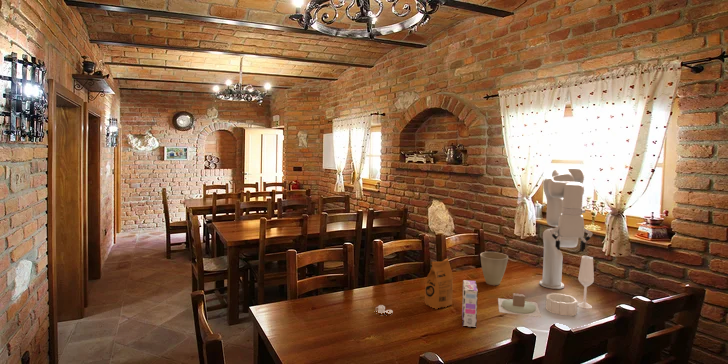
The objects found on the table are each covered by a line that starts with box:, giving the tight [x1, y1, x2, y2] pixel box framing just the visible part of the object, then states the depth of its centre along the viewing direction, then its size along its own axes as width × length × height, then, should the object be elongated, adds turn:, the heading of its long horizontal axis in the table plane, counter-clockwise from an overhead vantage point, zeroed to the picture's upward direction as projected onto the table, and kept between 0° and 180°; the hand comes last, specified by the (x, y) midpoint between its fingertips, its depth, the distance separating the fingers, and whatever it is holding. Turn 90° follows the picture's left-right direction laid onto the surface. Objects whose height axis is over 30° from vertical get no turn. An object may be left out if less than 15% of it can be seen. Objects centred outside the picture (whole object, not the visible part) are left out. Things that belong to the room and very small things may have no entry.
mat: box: [497, 297, 542, 318], centre depth 201 cm, size 18×18×1 cm
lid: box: [502, 292, 536, 313], centre depth 201 cm, size 15×15×6 cm
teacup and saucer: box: [375, 304, 394, 315], centre depth 192 cm, size 9×8×4 cm
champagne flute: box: [577, 255, 595, 309], centre depth 204 cm, size 7×7×24 cm
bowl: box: [545, 292, 579, 317], centre depth 199 cm, size 13×13×6 cm
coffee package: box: [424, 258, 454, 310], centre depth 204 cm, size 10×12×22 cm
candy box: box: [461, 279, 479, 328], centre depth 185 cm, size 14×6×16 cm, turn 168°
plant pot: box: [479, 251, 509, 286], centre depth 236 cm, size 15×15×16 cm
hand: (569, 249), depth 188 cm, fingers open, 9 cm apart
